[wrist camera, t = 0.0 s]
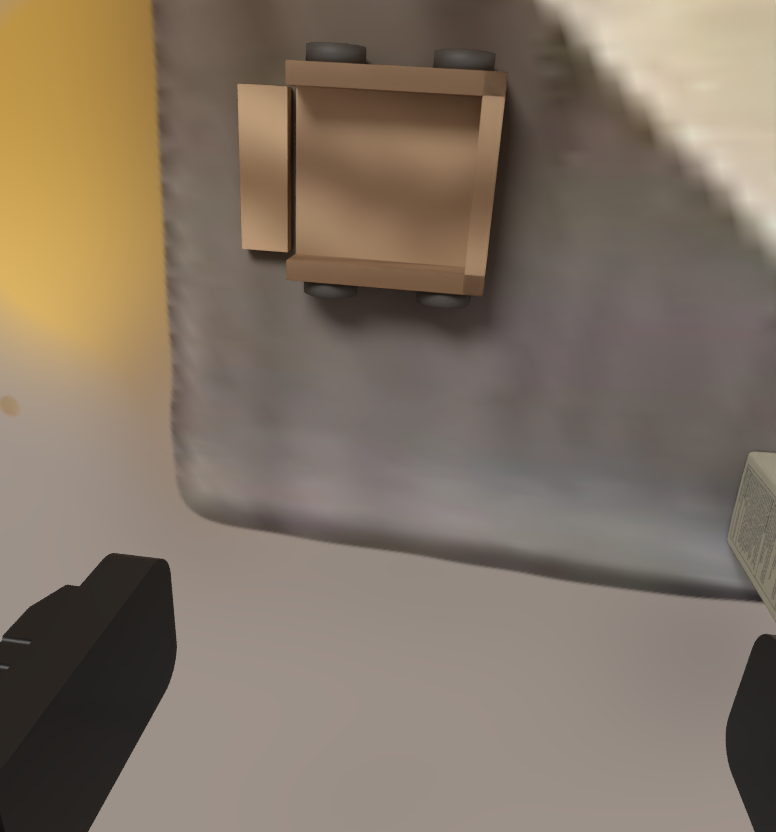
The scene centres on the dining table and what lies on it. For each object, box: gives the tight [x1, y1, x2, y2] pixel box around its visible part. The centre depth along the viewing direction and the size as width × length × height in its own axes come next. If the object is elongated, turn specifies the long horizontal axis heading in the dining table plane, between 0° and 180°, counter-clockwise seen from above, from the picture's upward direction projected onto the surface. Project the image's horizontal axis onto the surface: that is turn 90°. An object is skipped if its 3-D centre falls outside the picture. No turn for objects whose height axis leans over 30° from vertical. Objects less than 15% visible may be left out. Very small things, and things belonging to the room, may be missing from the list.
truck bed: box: [238, 42, 508, 308], centre depth 34 cm, size 12×13×3 cm
